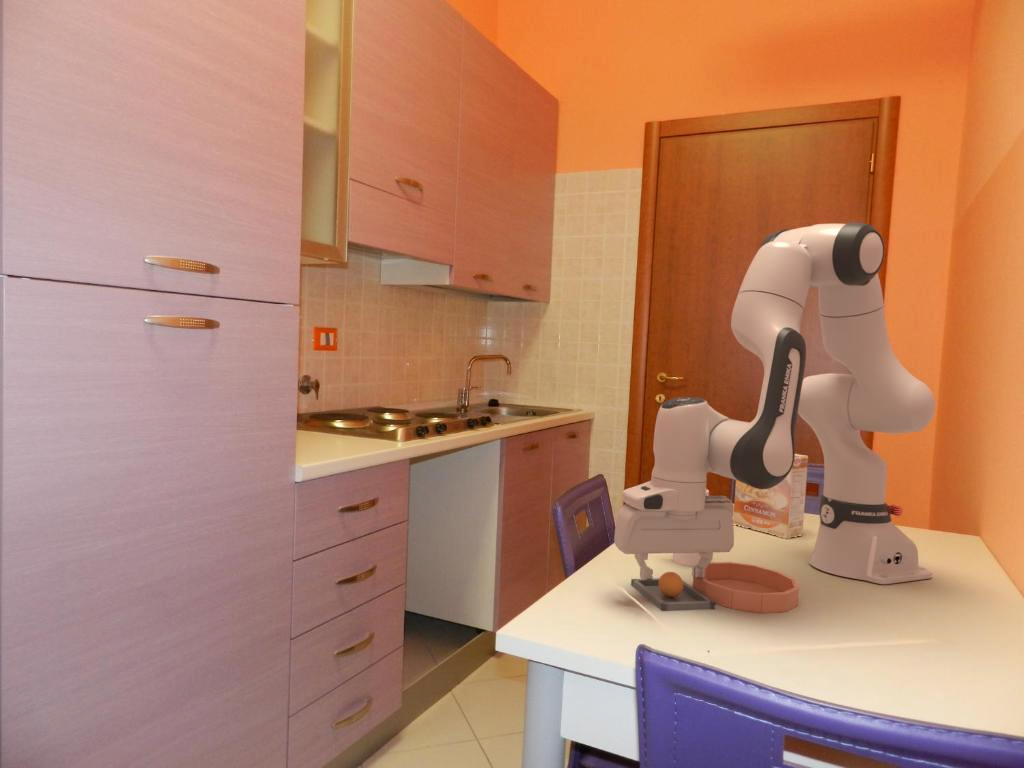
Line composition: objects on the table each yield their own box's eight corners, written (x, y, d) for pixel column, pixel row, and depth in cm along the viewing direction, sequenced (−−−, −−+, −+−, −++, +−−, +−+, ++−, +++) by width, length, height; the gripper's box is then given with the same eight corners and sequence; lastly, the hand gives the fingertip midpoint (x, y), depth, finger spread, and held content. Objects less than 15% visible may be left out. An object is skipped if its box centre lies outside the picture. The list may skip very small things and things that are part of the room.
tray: (678, 586, 119) (678, 577, 119) (714, 612, 107) (714, 602, 107) (630, 588, 117) (631, 579, 117) (662, 614, 105) (662, 604, 105)
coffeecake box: (731, 525, 169) (736, 447, 168) (748, 522, 173) (753, 446, 173) (786, 539, 157) (792, 456, 156) (803, 536, 161) (809, 455, 161)
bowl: (757, 579, 126) (758, 561, 125) (818, 614, 109) (820, 592, 109) (675, 582, 122) (676, 562, 121) (726, 618, 105) (727, 595, 105)
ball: (676, 590, 115) (675, 567, 114) (688, 598, 111) (687, 574, 110) (655, 593, 114) (653, 570, 113) (665, 602, 110) (664, 578, 109)
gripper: (723, 491, 117) (718, 570, 118) (613, 491, 112) (608, 573, 113) (744, 499, 111) (739, 583, 112) (628, 499, 106) (623, 586, 107)
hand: (672, 578), depth 112 cm, fingers open, 8 cm apart
